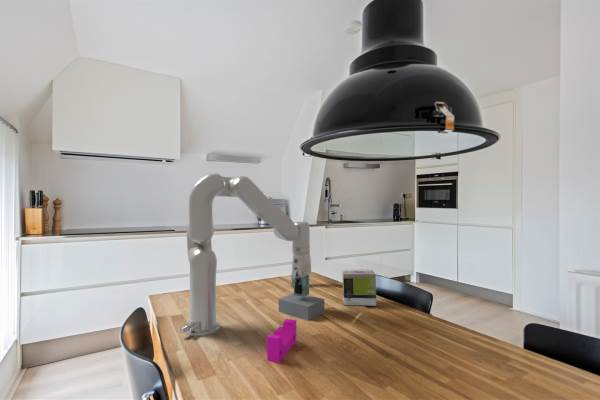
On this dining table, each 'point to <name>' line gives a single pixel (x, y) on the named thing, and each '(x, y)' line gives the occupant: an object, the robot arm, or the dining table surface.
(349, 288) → the tea box
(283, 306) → the plinth
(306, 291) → the teal block
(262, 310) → the dining table surface
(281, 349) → the toy block
